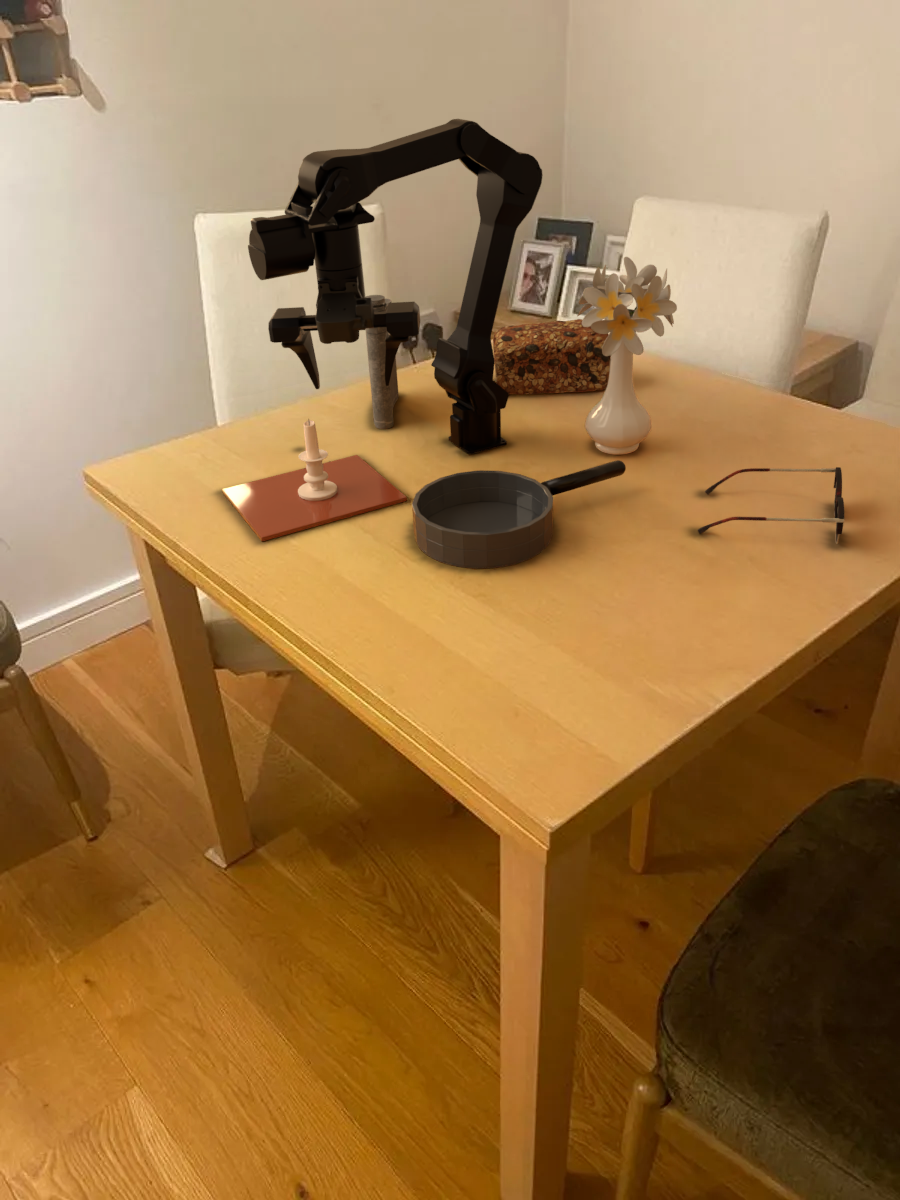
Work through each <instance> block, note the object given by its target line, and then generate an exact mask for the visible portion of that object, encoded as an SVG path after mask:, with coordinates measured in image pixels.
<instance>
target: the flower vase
mask: <svg viewBox="0 0 900 1200" xmlns="http://www.w3.org/2000/svg"><path fill="white" fill-rule="evenodd" d="M623 265H624V268H625V272H626V274H620V275H619V276H618V274H617V273H615V272H613V273H611V274H610V275H609V276H608V277H606V276H607V275H606V273H607V264H605V265H604V267H603V269H602V272H601V268H600V267H599V266H598V267H597V268H596V270H595V271H594V274H593V277H592V286H587V287H585V288H584V289H583V291H582V295H581V296H580V298H579V300H578V305H583V306H582V307H581V309H580V310H579V311H578V313H577V315H576V317H579V316H580V315H582V314H583V313H584V312H586V311H588V310H589V309H590V308H592V307H595V308H592V309H591V310H590V311H588V312H587V313H586V314H585V315H584V317H583V318H582V325H583V327H589V326H591V329H592V330H593V331H595V332H597V333H600V334H609V335H608V337H607V338H606V340H605V342H604V344H603V347H602V354H603V355H605V356H610V355H611V361H610V372H609V379H608V384H607V388H605V389H604V393H603V395H602V396H601V399H600V400H599V401H598V402H596V404H595V405H593V407H592V408H591V409H590V410H589V411H588V413H587V415H586V417H585V421H584V429H585V431H586V433H587V435H588V436H589V438H590V439H591V440H592V441H593V442H594V446H595V448H596V449H597V450H599V451H600V452H602V453H605V454H608V455H627V454H631V453H633V452H635V451H637V450H638V448H639V447H640V443H641V442H644V440H645V439H646V438H647V437H648V436H649V434H650V433H651V431H652V427H653V426H652V425H653V424H652V418H651V415H650V413H649V412H648V409H647V408H646V407H645V406H644V405H643V404H642V403H641V402H640V400H639V398H638V397H637V393H636V391H635V386H634V375H633V374H634V355H635V356H640V355H642V354H643V353H644V349H645V348H644V345H643V342H642V340H641V339H640V337H639V335H638V333H644V332H645V333H646V332H647V331H649V330H650V329H651V330H652V331H653V333H654V334H655V335H656V336H658V337H663V336H664V334H665V326H664V323H663V320H662V319H661V318H660V316H661V317H664V318H665V319H666V321H667V322H668V324H670V325H671V327H672V328H674V324H675V319H674V315H673V314H674V313H676V311H677V310H678V305H677V304H676V302H675V301H673V300H671V293H672V289H671V285H670V284H669V283H668V284H667V279H668V268H666V269H665V272H664V274H663V276H662V277H661V276H659V275H657V273H658V269H657V267H656V265H655V264H647V265H645V266H643V267H642V268H641V269H640V270H639V272H638V268H637V266H636V264H635V263H634V261H633V260H632V259H631V258H630V257H629V256H624V257H623ZM666 284H667V285H666ZM634 301H635V305H636V306H635V307H634V308H633V309H632V308H629V307H630V306H631V305H632V303H633V302H634Z"/></svg>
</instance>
